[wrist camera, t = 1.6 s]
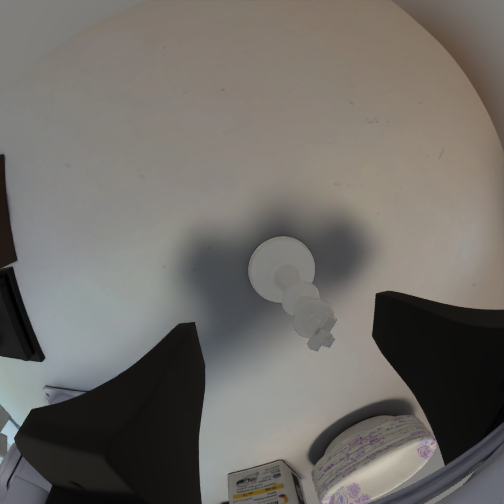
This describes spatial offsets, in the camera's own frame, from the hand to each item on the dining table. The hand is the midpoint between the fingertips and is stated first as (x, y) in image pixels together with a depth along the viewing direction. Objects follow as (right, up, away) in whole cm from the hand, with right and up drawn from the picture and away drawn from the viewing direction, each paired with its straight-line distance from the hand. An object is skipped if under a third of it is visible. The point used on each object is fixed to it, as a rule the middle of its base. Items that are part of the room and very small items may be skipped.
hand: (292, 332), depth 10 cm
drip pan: (-28, -4, +9) cm, 30 cm away
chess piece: (+1, +2, +10) cm, 10 cm away
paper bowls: (+13, -21, +17) cm, 30 cm away
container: (0, -27, +18) cm, 33 cm away
